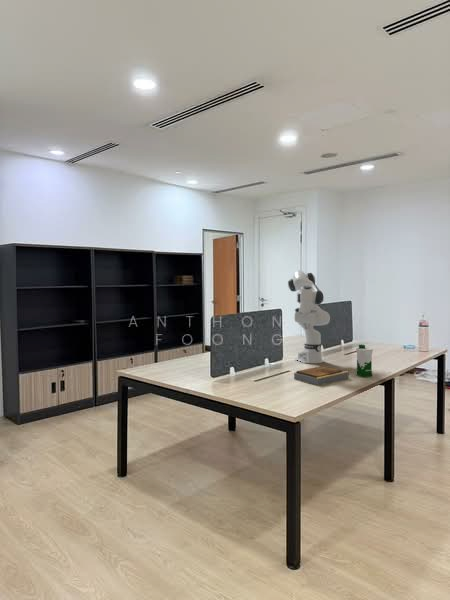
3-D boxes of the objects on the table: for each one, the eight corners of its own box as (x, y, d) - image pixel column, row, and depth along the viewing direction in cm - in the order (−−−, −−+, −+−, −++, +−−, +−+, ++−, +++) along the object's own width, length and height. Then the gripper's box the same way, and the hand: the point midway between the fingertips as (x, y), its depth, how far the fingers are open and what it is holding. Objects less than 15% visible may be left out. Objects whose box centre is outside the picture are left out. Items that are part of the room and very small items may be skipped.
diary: (320, 374, 283) (320, 366, 283) (342, 379, 268) (342, 370, 268) (296, 379, 270) (296, 370, 269) (318, 385, 254) (318, 375, 254)
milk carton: (364, 373, 281) (364, 344, 280) (374, 376, 273) (374, 345, 272) (354, 375, 277) (354, 345, 276) (364, 378, 269) (364, 347, 268)
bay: (294, 379, 268) (294, 372, 268) (324, 372, 285) (324, 366, 284) (318, 385, 252) (318, 378, 252) (348, 378, 268) (348, 371, 268)
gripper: (321, 310, 283) (321, 330, 284) (299, 308, 300) (299, 327, 300) (314, 311, 279) (314, 331, 280) (293, 309, 296) (293, 328, 297)
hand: (306, 329), depth 290 cm, fingers closed
